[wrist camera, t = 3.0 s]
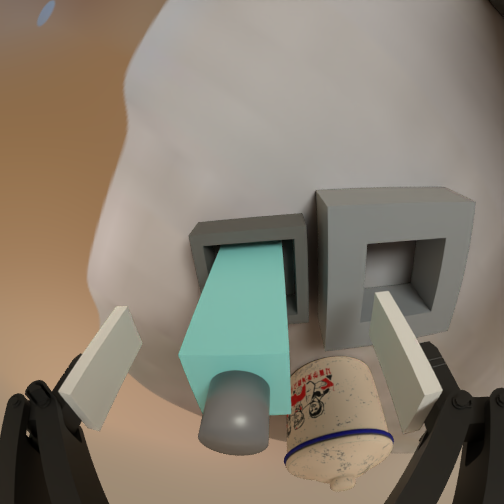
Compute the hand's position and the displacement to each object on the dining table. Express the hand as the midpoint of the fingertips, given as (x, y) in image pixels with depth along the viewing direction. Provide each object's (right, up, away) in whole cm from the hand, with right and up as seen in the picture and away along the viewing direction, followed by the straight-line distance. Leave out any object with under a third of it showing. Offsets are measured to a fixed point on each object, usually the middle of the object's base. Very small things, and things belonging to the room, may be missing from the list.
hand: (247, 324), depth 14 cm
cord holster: (0, +3, +6) cm, 7 cm away
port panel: (+10, +3, +5) cm, 12 cm away
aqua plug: (0, +3, +6) cm, 7 cm away
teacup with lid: (+7, -10, +12) cm, 17 cm away
